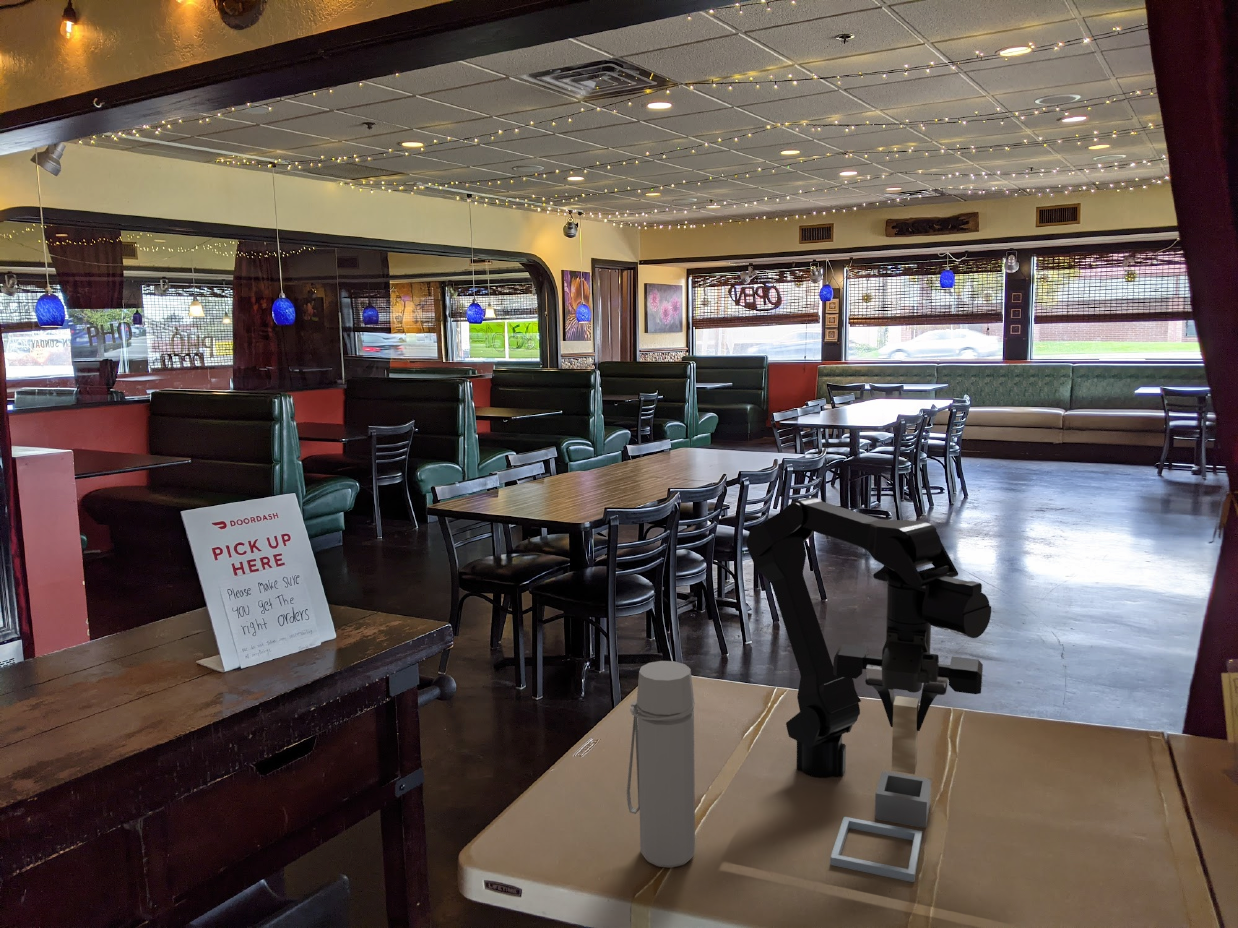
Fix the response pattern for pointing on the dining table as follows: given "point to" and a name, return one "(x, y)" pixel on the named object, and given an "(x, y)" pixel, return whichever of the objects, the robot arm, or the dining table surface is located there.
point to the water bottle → (664, 763)
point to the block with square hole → (903, 799)
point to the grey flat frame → (872, 866)
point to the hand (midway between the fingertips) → (905, 727)
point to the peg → (905, 734)
